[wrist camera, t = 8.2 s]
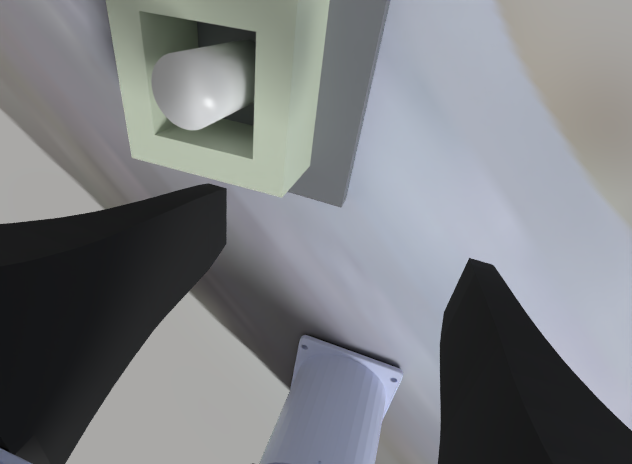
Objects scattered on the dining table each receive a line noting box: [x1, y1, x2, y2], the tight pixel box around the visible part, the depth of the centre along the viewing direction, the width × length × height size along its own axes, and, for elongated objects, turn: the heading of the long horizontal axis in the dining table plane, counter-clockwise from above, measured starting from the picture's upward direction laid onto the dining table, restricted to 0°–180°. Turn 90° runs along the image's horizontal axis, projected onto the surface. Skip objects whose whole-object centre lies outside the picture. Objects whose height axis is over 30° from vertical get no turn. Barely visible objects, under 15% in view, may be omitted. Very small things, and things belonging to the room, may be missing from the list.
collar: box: [106, 0, 330, 197], centre depth 17 cm, size 8×8×4 cm
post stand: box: [151, 0, 390, 207], centre depth 17 cm, size 12×12×6 cm
